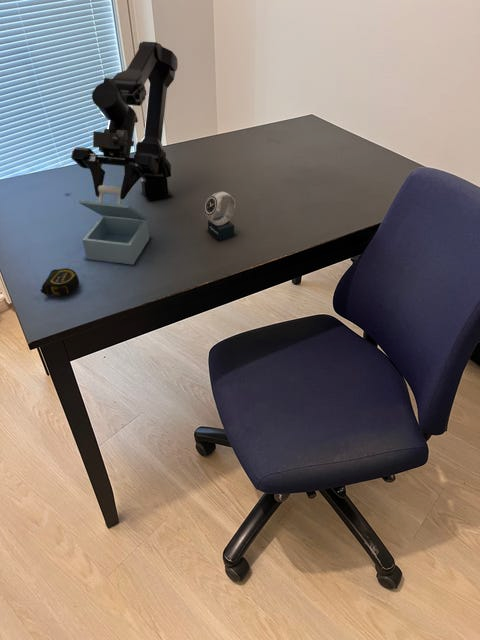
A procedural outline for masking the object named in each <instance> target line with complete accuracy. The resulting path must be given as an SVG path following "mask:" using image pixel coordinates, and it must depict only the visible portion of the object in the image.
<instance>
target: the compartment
mask: <svg viewBox="0 0 480 640" xmlns="http://www.w3.org/2000/svg"><path fill="white" fill-rule="evenodd" d="M149 240H150V235H149V226H148V220H138V219H129V218H120V217H111V216H102V215H101V216H100V218H99V219H98V220H97V221H96V222H95V224H94V225H93V226H92V227H91V229H90V230H89V231H88V232H87V233H86V235H85V236H84V237H83V238H82V245H83V250H84V253H85V256H86V259H87V260H91V261H99V262H107V263H108V262H109V263H116V264H125V265H131V266H132V265H134V264H135V263H136V261H137V260H138V258H139V256H140V255H141V253H142V252H143V249H144V248H145V247H146V246H147V243H148V242H149Z"/></svg>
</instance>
